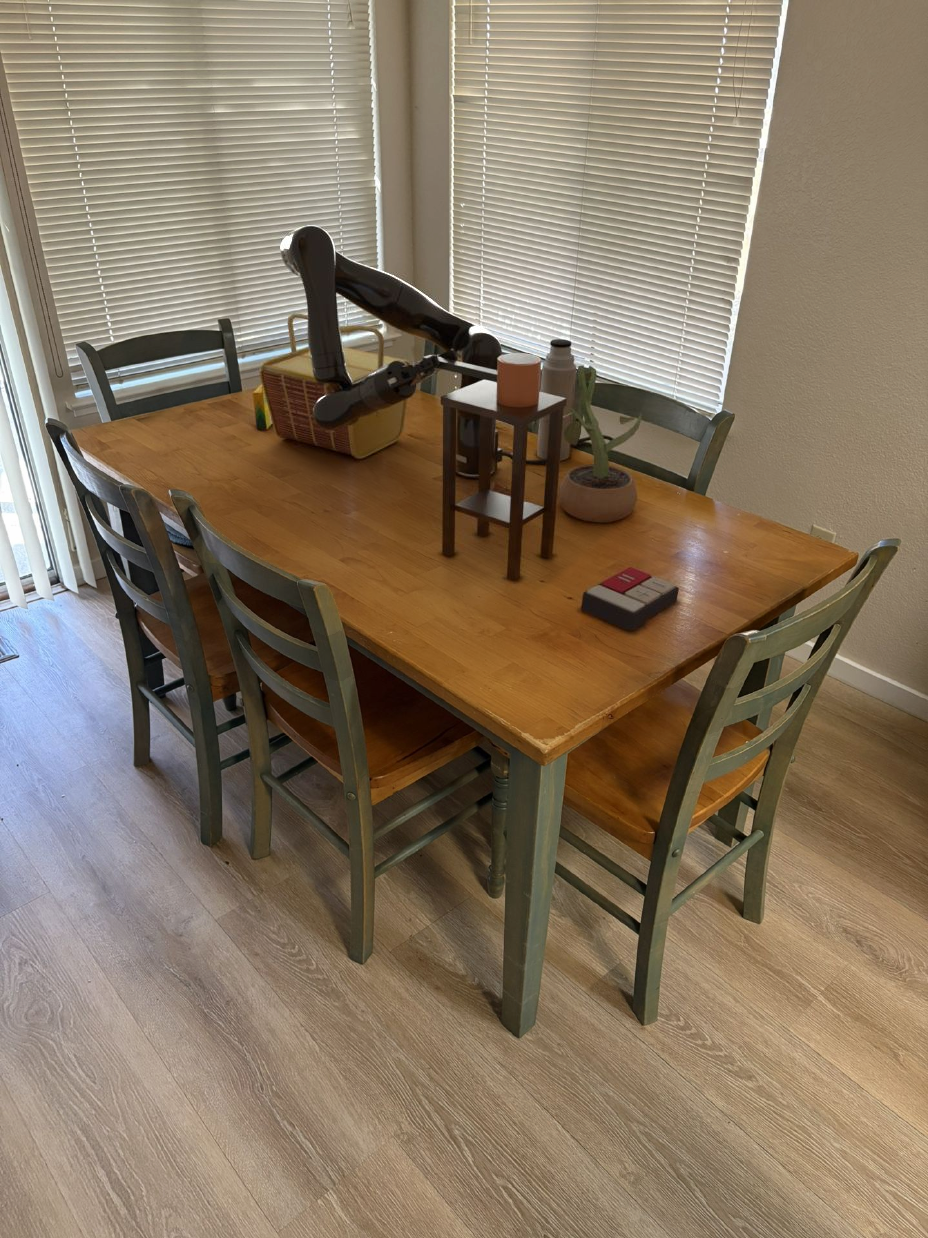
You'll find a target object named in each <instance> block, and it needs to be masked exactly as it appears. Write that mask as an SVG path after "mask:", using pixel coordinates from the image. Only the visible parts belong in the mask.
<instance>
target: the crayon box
mask: <svg viewBox="0 0 928 1238" xmlns="http://www.w3.org/2000/svg"><path fill="white" fill-rule="evenodd" d="M252 399H253V407H254V417H255V425H256V430H268V429H269V428H270V427H271V425H273V423H272V419H271V415H270V412H269V408H268V404H267V401H266V397H265V393H264V390H263V386H262V383H261V384H260V385H259V386H258V387H257V388H256V389H255V390H253V392H252Z"/></svg>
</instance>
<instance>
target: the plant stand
mask: <svg viewBox="0 0 928 1238" xmlns="http://www.w3.org/2000/svg"><path fill="white" fill-rule="evenodd" d="M496 393H497V382H493V381H489V380H485V379H484V380H482V381H479V382H477V383H474V384H472V385H469V386H467V387H464V388H462V389H459V390H457V389H456V390H454V391H452V392H449V393H447V394H443V395H441V396H440V406H442V514H441V515H442V516H441V517H442V519H441V520H442V521H441V522H442V523H441V524H442V527H441V529H442V531H441V534H442V536H441V537H442V539H441V540H442V541H441V542H442V544H441V548H442V549H441V554H442V555H443V556H445V557H448V558H450V557H451V556H453V555H455V551H456V550H455V549H456V547H455V546H456V512H458V513H461V514H463V515H467V516H470V517H472V518H476V519H477V520H476V521H477V522H476V534H477V535H479V536H481V537H486V536H487V535H489V534H490V523H491V524H493V525H497V526H500V527H502V528H504V529H505V528H506V529H508V542H507V543H508V544H507V565H506V566H507V567H506V579H508V580H510V581H513V582H516V581H517V580H519V579H520V578H521V564H522V563H521V561H522V560H521V559H522V546H523V545H522V544H523V527H524V526H525V525H526V524H528V523H530V522H531V521H533V520H534V519H536V518H538V517H539V516H541V515H542V524H541V525H542V526H541V540H540V555H539V556H540V558H544V559H550V558H551V557H553V555H554V541H555V527H556V517H557V516H556V515H557V503H558V501H557V500H558V491H559V490H558V489H559V476H560V474H559V473H560V462H561V460H560V450H561V436H562V423H563V410H564V407H565V406H566V401H567V398H564V397H559V396H555V395H551V394H547V393H543V392H541V391H539V402H538V404H536V405H534V406H531V407H524V408H515V407H508V406H504V405H501V404H499V403H498V402H497V401H496ZM456 409H459V410H462V411H466V412H470V413H474V414H477V415H480V443H479V478H478V485H477V486H478V487H477V493H475V494H473V495H470V496H469V497H467V498H465V499H463V500H461V501H459V502H458V503H456V484H457V482H456V480H457V479H456V478H457V477H456V475H457V473H456ZM549 414H550V420H549V435H548V449H547V463H545V464H546V465H545V466H546V467H545V481H544V495H543V496H544V497H543V506H541V505H538V504H535V503H531V502H529V501H526V500H525V491H526V490H525V487H526V472H527V471H526V469H527V468H526V467H527V464H526V460H527V450H528V434H529V425H530V424H531V423H534V422H536V421H538V420H540V418H542V417H544V416H547V415H549ZM493 419H496V421H499V422H504V423H508V424H511V425H513V435H512V436H513V437H512V455H513V457H512V460H511V483H510V490H511V497H509V496H506V495H503V494H500V493H497V492H494V491H491V490H490V485H491V484H492V475H491V455H492V425H493Z"/></svg>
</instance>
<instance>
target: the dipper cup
mask: <svg viewBox="0 0 928 1238" xmlns="http://www.w3.org/2000/svg"><path fill="white" fill-rule="evenodd" d="M433 355H434V354H428V355H426V356H423V357H422V360H425V359H427V358H429V357H431V356H433ZM438 359H439V361H440V366H439V367H437V368H439V369H442V370H443V371H448V372H452V373H456V374H459V375H462V374H464V375H468V376H472V377H476V378H480V379H485V380H489V381H493V382H497V393H496V401H497V402H498V403H499V404H501V405H504V406H508V407H515V408H524V407H531V406H534V405H536V404H538V402H539V392H540V391H541V374H542V359H541V357H539V356H537V355H535V354H531V353H526V352H511V353H504V354H502V355H501V356H499V357H498V365H497V370H493V369H488V368H484V367H480V366H476V365H471V364H467V363H463V362H459V361H458V360H456V361H454V360H450V359H446V358H441V357H438Z"/></svg>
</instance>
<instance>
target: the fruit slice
mask: <svg viewBox="0 0 928 1238" xmlns="http://www.w3.org/2000/svg"><path fill="white" fill-rule="evenodd" d="M490 490H491V491H494V492H497V493H500V494H503V495H506V496H509V497H511V488H508V486H503V485H501V484H500V483H497V482H496V481H494V480H492V481H491V484H490Z"/></svg>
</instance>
